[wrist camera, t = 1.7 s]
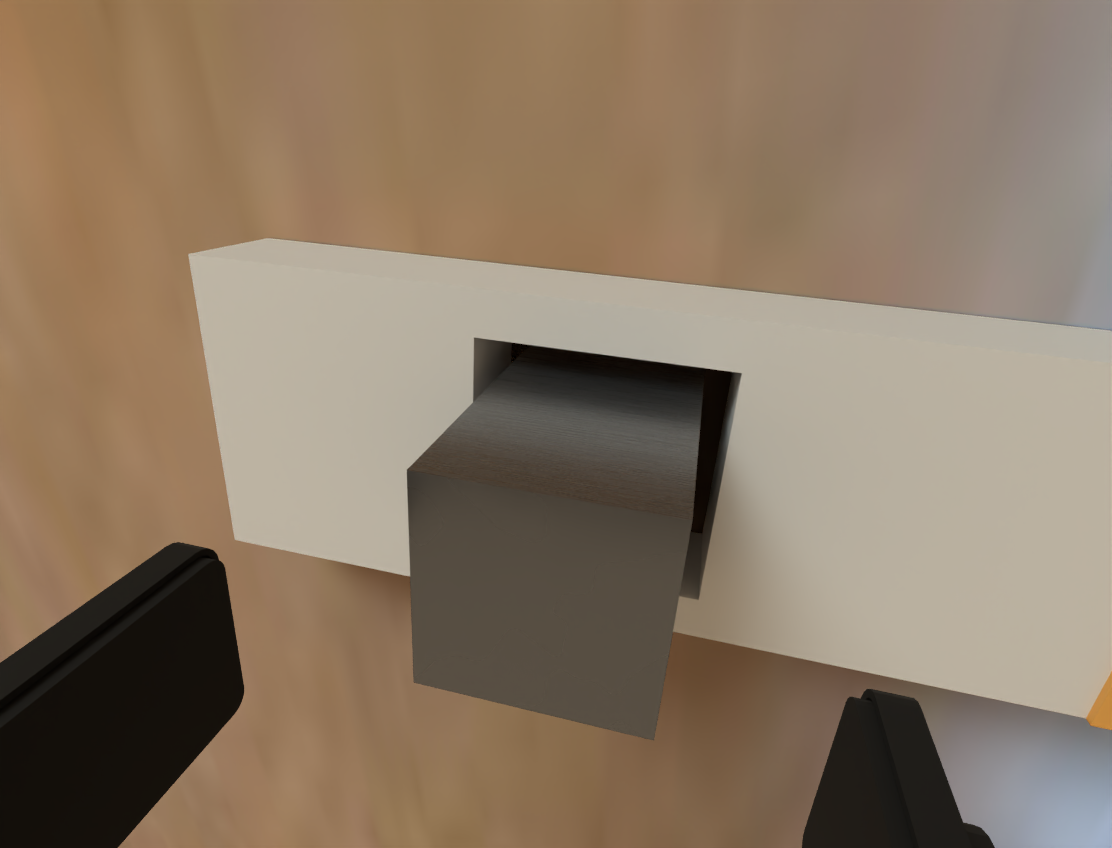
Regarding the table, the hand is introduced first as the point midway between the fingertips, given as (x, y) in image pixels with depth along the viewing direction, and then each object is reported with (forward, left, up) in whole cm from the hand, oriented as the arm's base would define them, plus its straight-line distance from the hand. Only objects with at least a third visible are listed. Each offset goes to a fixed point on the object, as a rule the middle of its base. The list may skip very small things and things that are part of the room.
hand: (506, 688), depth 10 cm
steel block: (0, 0, -9) cm, 9 cm away
